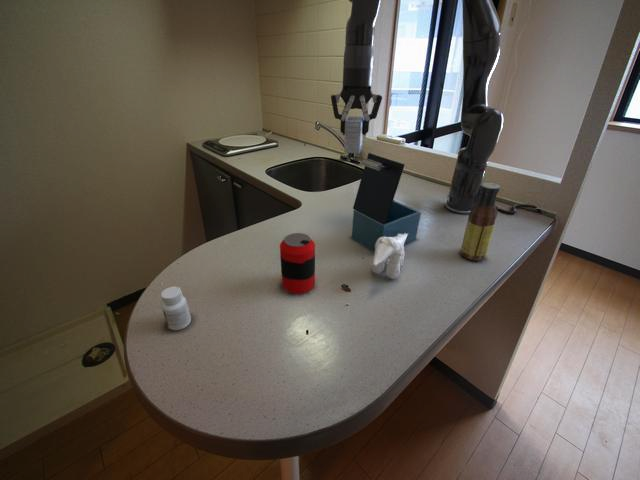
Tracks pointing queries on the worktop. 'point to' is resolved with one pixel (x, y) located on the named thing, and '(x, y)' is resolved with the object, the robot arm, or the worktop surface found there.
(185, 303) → the pill bottle
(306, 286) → the soda can
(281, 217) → the worktop surface
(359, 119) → the medicine box
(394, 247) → the dinosaur statue
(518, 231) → the worktop surface
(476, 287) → the worktop surface
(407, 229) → the blue box
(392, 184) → the black box lid
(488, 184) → the sauce bottle
